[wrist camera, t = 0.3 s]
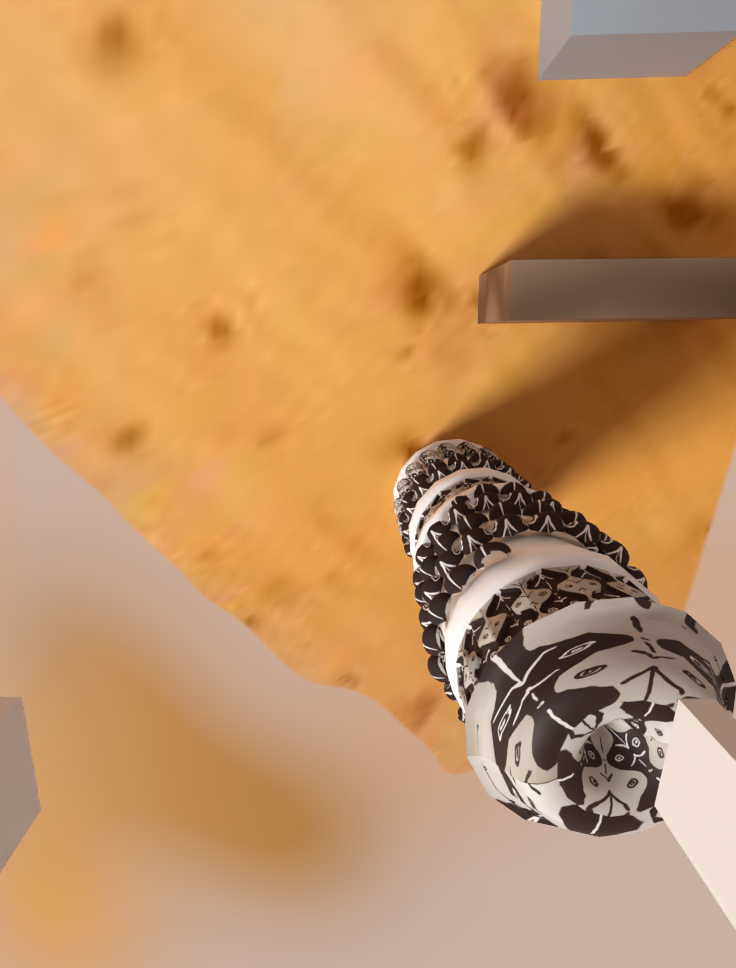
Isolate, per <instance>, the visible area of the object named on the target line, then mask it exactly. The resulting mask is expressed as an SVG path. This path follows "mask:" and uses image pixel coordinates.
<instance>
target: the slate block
mask: <svg viewBox="0 0 736 968" xmlns="http://www.w3.org/2000/svg"><path fill="white" fill-rule="evenodd" d="M735 37H736V0H541V20H540V45H539V70H538V80H571V79H606V78H641V77H675V76H687V75H688V74H689V73H690V72H692V71H693V70H694V69H696V68H697V67H698V66H699V65H701V64H702V63H703V62H705V61H706V60H707V59H708V58H710V57H711V56H712V55H713V54H715V53H716V52H717V51H719V50H720V49H721V48H722V47H724V46H725V45H726V44H728V43H729V42H730V41H731V40H733V39H734V38H735Z"/></svg>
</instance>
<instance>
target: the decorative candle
mask: <svg viewBox="0 0 736 968" xmlns="http://www.w3.org/2000/svg"><path fill="white" fill-rule="evenodd" d="M393 492H394V507H395V513H396V515H397V517H398V519H397V524H398V526H399V532H400V534H401V535H402V541H403V543H404V549H405V552H406V554H407V555H408V556H409V557H410V558H413V563H414V573H413V583H414V585H415V587H416V589H415V599H416V601H417V603H418V604H419V605H420V606H421V607H422V608H421V610H420V613H419V620H420V624H421V626H422V627H423V629H425V630H424V632H423V635H422V643H423V646H424V648H425V650H426V651H427V652H428V653H429V654H431V656H430V658H429V659H428V669H429V672H430V674H431V675H432V676H433V677H434V678H435V679H436V680H438V681H440V682H445V685H444V691H445V692H444V693H445V694H446V695H447V696H448V697H449V698H450V699H451V700H453V701H455V702H459V704H460V706H461V707H460V708H459V709H458V715H459V717H458V718H459V720H461V721H462V722H464V723H465V727H466V751H467V758H468V760H469V762H470V763H471V765H472V767H473V769H474V770H475V772H476V774H477V776H478V777H479V779H480V781H481V783H482V784H483V786H484V788H485V789H486V791H487V793H488V794H489V795H490V796H491V797H493V798H494V799H496V800H497V801H499V802H500V803H502V804H503V805H505V806H506V807H507V808H509V809H510V810H512V811H513V812H515V813H516V814H518V815H519V816H520V817H522V818H523V819H525V820H529V821H534V822H538V823H543V824H547V825H552V826H556V827H560V828H563V829H567V830H571V831H576V832H580V833H585V834H589V835H593V836H599V837H601V836H612V835H620V834H631V833H638V832H641V831H644V830H646V829H648V828H651V827H653V826H655V825H658V824H660V823H663V822H665V821H664V820H663V818H662V817H661V815H660V814H659V812H658V810H657V809H656V807H655V806H654V805H655V801H656V796H657V792H658V787H659V783H660V779H661V774H662V770H663V765H664V761H665V756H666V752H667V747H668V743H669V739H670V734H671V730H672V725H673V721H674V716H675V712H676V707H677V703H678V699H715V700H716V701H717V702H718V703H719V704H720V705H721V706H722V707H723V708H724V709H725V710H726V711H727V712H728V713H729V714H730V715H731V716H732V717H733V709H734V701H735V692H736V682H735V680H734V677H733V674H732V672H731V669H730V666H729V664H728V661H727V658H726V656H725V653H724V651H723V648H722V645H721V643H720V642H719V641H718V640H717V639H715V637H713V636H712V635H711V634H710V633H709V632H708V631H707V630H705V629H704V628H703V627H702V626H701V625H700V624H699V623H697V622H696V621H695V620H694V619H693V618H692V617H691V616H689V615H688V614H687V613H686V612H685V611H682V610H678V609H675V608H671V607H668V606H664V605H661V604H660V603H659V601H658V598H657V597H656V596H654V595H653V594H652V593H651V592H650V591H649V590H648V589H647V580H646V578H645V576H644V574H643V573H642V572H641V571H640V570H639V569H638V568H636V567H633V566H627V565H628V563H629V554H628V551H627V550H626V548H625V547H624V546H623V545H622V544H620V543H619V542H617V541H615V540H611V538H610V537H609V536H608V535H606V534H605V533H603V532H601V531H599V529H598V528H597V527H596V526H595V525H594V524H592V523H590V522H587V521H586V519H585V517H584V516H583V515H582V514H581V513H579V512H576V511H569V510H567V509H564V508H562V506H561V504H560V502H558V501H556V500H554V499H552V497H551V495H550V494H549V493H547V492H545V491H536V490H532V489H531V484H530V483H529V482H528V481H527V480H525V479H522V477H521V476H520V475H519V474H517V473H515V471H514V469H513V468H512V467H511V466H509V465H506V463H505V462H504V461H503V460H500V459H499V457H498V456H497V455H496V454H495V453H492V451H491V450H490V449H488V448H484V447H483V446H482V445H478V444H475V443H472V442H469V441H466V440H462V439H451V440H440V441H435V442H433V443H432V444H430V445H428V446H426V447H424V448H422V449H420V450H418V451H416V452H415V453H414V454H413V455H412V456H411V458H410V459H409V460H408V461H407V462H406V463H405V464H404V466H403V467H402V468H401V469H400V472H399V475H398V478H397V481H396V484H395V487H394V490H393ZM609 556H610V557H609ZM438 626H439V627H438ZM440 627H441V628H440Z"/></svg>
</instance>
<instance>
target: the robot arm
mask: <svg viewBox="0 0 736 968" xmlns="http://www.w3.org/2000/svg"><path fill="white" fill-rule="evenodd" d="M654 806H655V807H656V809H657V810H658V812H659V814H660V815H661V817H662V818H663V820H664V821H665V823H666V824H667V826H668V827H669V829H670V830H671V831H672V833H673V835H674V836H675V838H676V839H677V841H678V843H679V844H680V846H681V847H682V849H683V850H684V852H685V853H686V855H687V856H688V858H689V859H690V860H691V862H692V864H693V865H694V867H695V868H696V870H697V872H698V873H699V875H700V876H701V878H702V879H703V880H704V882H705V883H706V885H707V887H708V888H709V890H710V891H711V893H712V894H713V896H714V897H715V899H716V900H717V902H718V903H719V905H720V907H721V908H722V910H723V911H724V913H725V914H726V916H727V917H728V919H729V920H730V922H731V923H732V925H733V927H734V928H735V930H736V720H735V719H734V718H733V717H732V716H731V715H730V714H729V713H728V712H727V711H726V710H725V709H724V708H723V707H722V706H721V705H720V704H719V703H718V702H717V701H716V700H715V699H678V703H677V707H676V712H675V716H674V721H673V725H672V730H671V734H670V739H669V743H668V747H667V752H666V756H665V761H664V765H663V770H662V774H661V779H660V783H659V787H658V792H657V796H656V801H655V805H654ZM40 810H41V808H40V802H39V796H38V790H37V784H36V778H35V772H34V766H33V760H32V754H31V749H30V743H29V737H28V731H27V725H26V720H25V713H24V707H23V702H22V697H0V872H1V871H2V869H3V867H4V866H5V865H6V863H7V861H8V860H9V858H10V857H11V855H12V854H13V852H14V851H15V849H16V847H17V846H18V844H19V843H20V841H21V840H22V838H23V837H24V835H25V834H26V832H27V831H28V829H29V827H30V826H31V824H32V823H33V821H34V820H35V818H36V817H37V815H38V814H39V812H40Z"/></svg>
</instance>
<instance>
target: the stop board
mask: <svg viewBox="0 0 736 968" xmlns="http://www.w3.org/2000/svg"><path fill="white" fill-rule="evenodd" d="M732 318H736V257H726V258H631V259H536V260H511V261H509V262H506V263H504V264H502V265H500V266H498V267H496V268H494V269H492V270H490V271H488V272H486V273H484V274H481V275H480V279H479V305H478V323H545V322H614V321H683V320H713V319H732Z"/></svg>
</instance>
